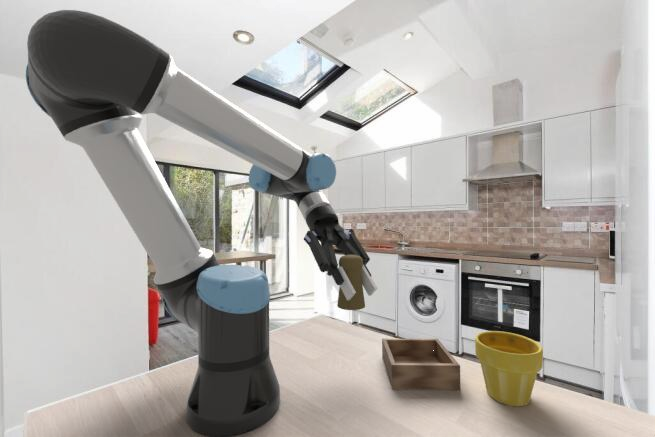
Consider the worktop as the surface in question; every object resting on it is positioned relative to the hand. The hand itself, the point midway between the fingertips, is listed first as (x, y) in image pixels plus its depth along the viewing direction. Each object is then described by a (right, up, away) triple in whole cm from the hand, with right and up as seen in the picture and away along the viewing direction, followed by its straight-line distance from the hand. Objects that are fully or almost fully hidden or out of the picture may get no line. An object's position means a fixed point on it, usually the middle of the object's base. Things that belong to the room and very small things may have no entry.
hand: (362, 294), depth 62 cm
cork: (-2, -3, +3) cm, 5 cm away
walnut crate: (+11, -16, 0) cm, 20 cm away
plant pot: (+25, -16, -8) cm, 31 cm away
